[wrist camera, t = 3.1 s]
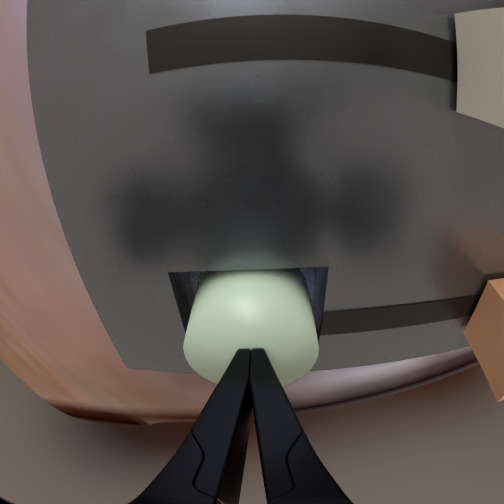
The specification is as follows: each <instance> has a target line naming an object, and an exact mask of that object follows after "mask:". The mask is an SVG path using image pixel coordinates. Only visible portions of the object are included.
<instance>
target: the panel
mask: <svg viewBox="0 0 504 504" xmlns="http://www.w3.org/2000/svg"><path fill="white" fill-rule="evenodd" d="M502 7H504V0H28V2H27V56H28V70H29V81H30V91H31V99H32V106H33V113H34V119H35V125H36V130H37V135H38V141H39V145H40V150H41V155H42V159H43V163H44V167H45V171H46V175H47V179H48V183H49V186H50V190H51V193H52V197H53V200H54V204H55V207H56V210H57V213H58V216H59V219H60V222H61V225H62V228H63V231H64V234H65V237H66V240H67V242H68V245H69V248H70V250H71V253H72V256H73V258H74V261H75V263H76V266H77V268H78V271H79V273H80V275H81V278H82V280H83V282H84V285H85V287H86V289H87V291H88V294H89V296H90V298H91V300H92V302H93V304H94V307H95V309H96V311H97V313H98V315H99V317H100V319H101V321H102V323H103V325H104V327H105V329H106V331H107V333H108V335H109V336H110V338H111V340H112V342H113V344H114V346H115V348H116V349H117V351H118V353H119V355H120V357H121V358H122V360H123V362H124V363H125V365H126V367H127V368H133V369H143V370H154V371H168V372H184V373H197V372H196V371H195V370H194V369H193V368H192V367H191V366H190V365H189V363H188V362H187V360H186V358H185V355H184V350H183V344H184V339H185V335H186V331H187V326H188V322H189V318H190V314H191V310H192V306H193V302H194V296H193V292H192V288H191V283H190V279H189V274H188V272H193V271H227V270H257V269H283V268H307V267H316V273H315V285H314V297H313V307H312V312H313V317H314V322H315V328H316V333H317V339H318V345H319V354H318V358H317V360H316V362H315V364H314V366H313V367H312V368H311V370H310V371H318V370H330V369H340V368H349V367H358V366H366V365H373V364H380V363H387V362H393V361H400V360H405V359H411V358H416V357H422V356H427V355H432V354H437V353H441V352H446V351H450V350H454V349H459V348H463V347H467V346H470V344H469V342H468V341H467V339H466V337H465V335H464V333H463V332H464V330H465V328H466V326H467V324H468V322H469V321H470V319H471V317H472V315H473V313H474V311H475V308H476V306H477V304H478V302H479V300H480V298H481V296H482V293H483V291H484V289H485V287H486V284H487V282H488V280H494V279H501V278H504V128H501V127H499V126H496V125H493V124H491V123H488V122H485V121H482V120H479V119H477V118H474V117H471V116H467V115H464V114H461V113H458V112H456V109H457V82H458V67H457V40H456V27H455V16H454V14H455V13H461V12H468V11H475V10H482V9H491V8H502Z"/></svg>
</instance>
